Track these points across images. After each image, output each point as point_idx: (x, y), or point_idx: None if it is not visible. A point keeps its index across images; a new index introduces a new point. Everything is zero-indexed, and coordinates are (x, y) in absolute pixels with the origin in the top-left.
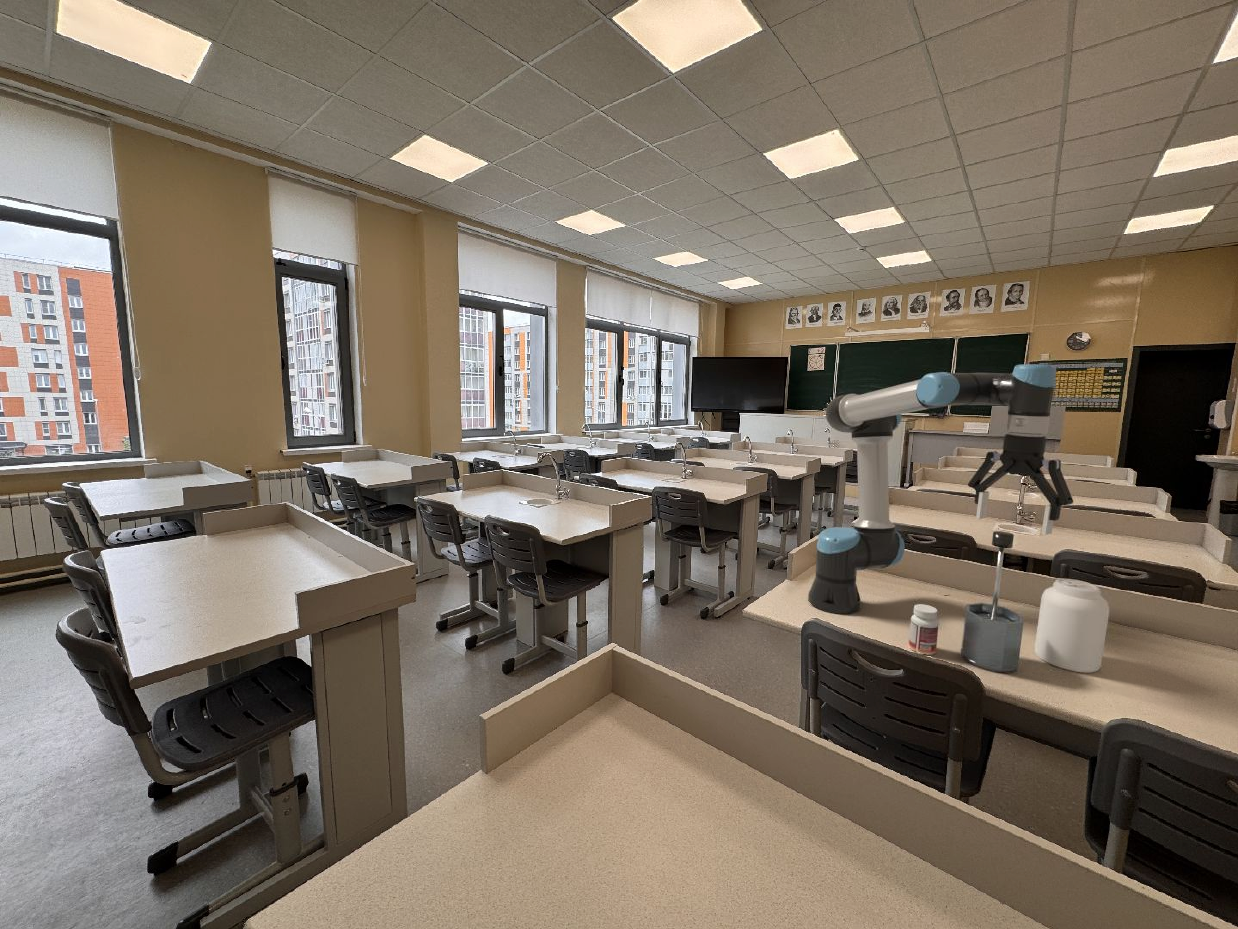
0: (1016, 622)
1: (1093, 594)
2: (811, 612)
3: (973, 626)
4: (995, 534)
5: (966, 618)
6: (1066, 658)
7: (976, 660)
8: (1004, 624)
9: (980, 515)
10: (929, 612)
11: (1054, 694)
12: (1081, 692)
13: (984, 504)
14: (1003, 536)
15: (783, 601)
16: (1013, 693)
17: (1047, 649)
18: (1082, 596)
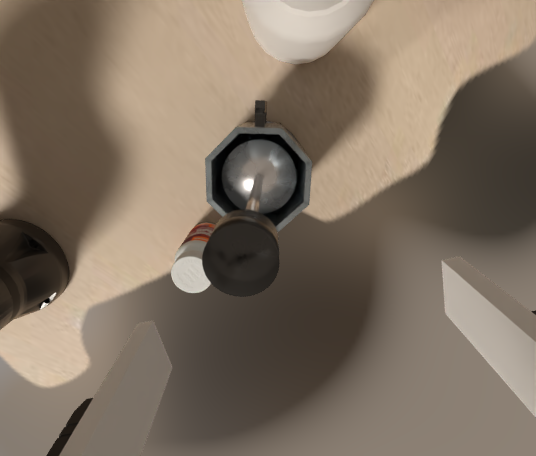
0: (309, 179)
1: None
2: (59, 319)
3: None
4: (235, 293)
5: None
6: (327, 52)
7: None
8: (305, 207)
9: (165, 376)
10: (210, 282)
11: (368, 155)
12: (380, 104)
13: (136, 406)
14: (266, 286)
15: (11, 337)
16: (346, 212)
17: (296, 61)
18: None
